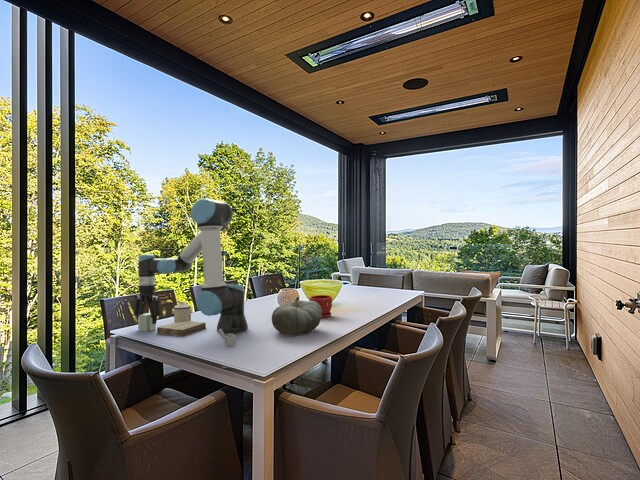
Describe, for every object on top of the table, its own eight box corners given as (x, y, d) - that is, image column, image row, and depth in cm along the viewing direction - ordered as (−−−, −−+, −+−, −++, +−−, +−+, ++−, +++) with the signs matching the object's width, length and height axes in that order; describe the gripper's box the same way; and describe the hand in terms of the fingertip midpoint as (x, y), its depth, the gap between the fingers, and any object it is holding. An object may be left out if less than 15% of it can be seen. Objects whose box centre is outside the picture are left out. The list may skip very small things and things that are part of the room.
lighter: (234, 345, 148) (234, 326, 148) (235, 346, 147) (235, 327, 147) (217, 347, 144) (217, 328, 144) (219, 348, 143) (218, 329, 143)
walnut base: (205, 328, 178) (205, 322, 178) (183, 336, 163) (182, 330, 163) (181, 326, 184) (181, 320, 184) (157, 333, 169) (157, 327, 169)
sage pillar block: (154, 329, 178) (154, 313, 178) (146, 331, 173) (146, 315, 173) (147, 328, 180) (147, 313, 180) (139, 330, 175) (139, 314, 175)
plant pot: (318, 313, 213) (318, 294, 213) (336, 316, 206) (336, 295, 206) (305, 317, 203) (305, 296, 203) (323, 320, 195) (323, 298, 195)
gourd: (334, 324, 172) (328, 290, 171) (306, 345, 151) (298, 307, 150) (295, 323, 186) (289, 292, 185) (264, 342, 165) (257, 307, 164)
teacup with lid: (193, 322, 191) (193, 301, 192) (176, 325, 186) (176, 303, 186) (187, 319, 201) (187, 299, 201) (170, 321, 196) (170, 300, 196)
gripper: (125, 284, 177) (125, 329, 177) (156, 286, 169) (156, 332, 169) (138, 283, 184) (138, 326, 184) (167, 284, 176) (167, 329, 176)
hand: (146, 329), depth 176 cm, fingers open, 7 cm apart
